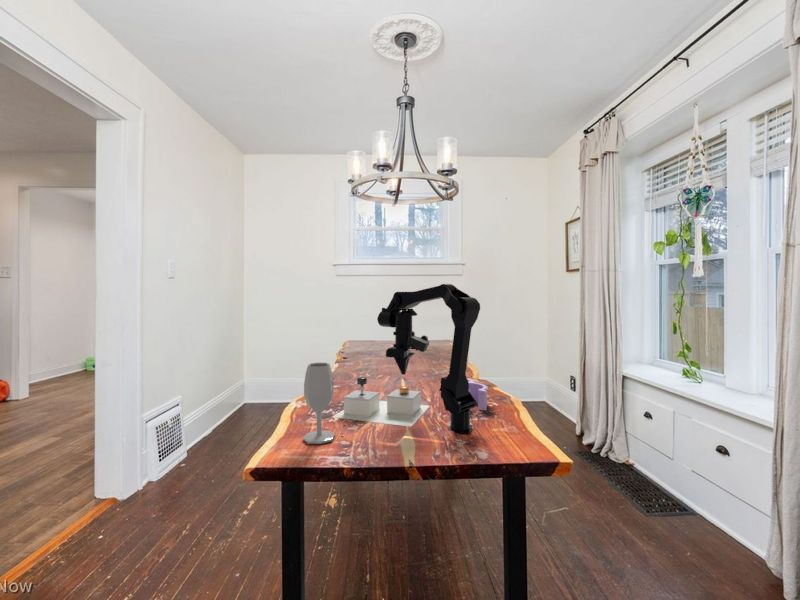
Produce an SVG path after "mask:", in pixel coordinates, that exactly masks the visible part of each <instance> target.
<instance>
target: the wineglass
mask: <svg viewBox="0 0 800 600" xmlns="http://www.w3.org/2000/svg"><path fill="white" fill-rule="evenodd" d="M303 383H304V384H303V396H304V399H305V403H306V406H308V407H309V408H310V409H311V410H313V412H314V413H316V430H315V431H314V430H313V431H310V432H306V434H305V435H304V436H303V441H304V442H305V443H306V444H307V445H322V444H323V445H324V444H326V443H330V442H333V440H334V439H335V436H336V434H335V433H334V432H332V431H331V430H323V429H322V428H323V425H322V423H323V422H322V418H323V417H322V415H323V414H322V413H323V412H324V411H325V410H326V409H327V408H328V407H330V405H331V404H332V401H333V396H334V392H335V391H334V388H335V386H334V377H333V371H332V368H331V364H330V363H328V362H311V363H309V364H307V368H306V371H305V376H304V382H303Z"/></svg>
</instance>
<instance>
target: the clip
mask: <svg viewBox="0 0 800 600" xmlns="http://www.w3.org/2000/svg"><path fill="white" fill-rule="evenodd" d="M466 378H467V377H466ZM467 380H468V383H469V392H470V393H471V395H472V396H473V398H474V399H475V400H476V401H477V402H476V403H477V410H479V411H483V410H486V411H487V407H488V386H487V384H485V383H484V384H483V383H480V382H476V381H474V380H473V379H472V378H469V377H468V378H467ZM458 403H460V402H458Z"/></svg>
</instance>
